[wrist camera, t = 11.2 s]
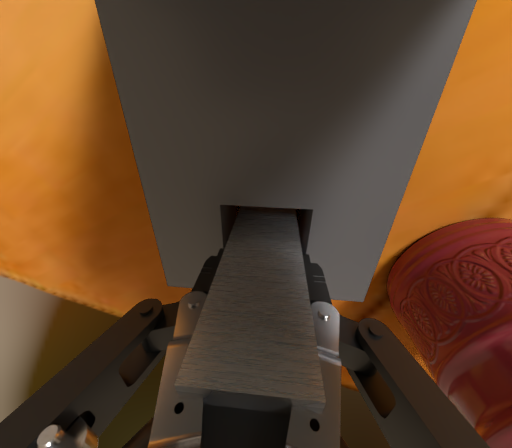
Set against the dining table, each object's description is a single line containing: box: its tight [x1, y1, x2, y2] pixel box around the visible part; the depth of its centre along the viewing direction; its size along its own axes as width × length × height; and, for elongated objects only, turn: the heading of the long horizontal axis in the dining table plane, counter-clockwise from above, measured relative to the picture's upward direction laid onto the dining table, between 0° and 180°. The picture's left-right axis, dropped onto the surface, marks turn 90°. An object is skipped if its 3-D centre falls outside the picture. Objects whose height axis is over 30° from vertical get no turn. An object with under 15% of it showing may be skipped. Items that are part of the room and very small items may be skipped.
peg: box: [174, 206, 326, 414], centre depth 12 cm, size 4×4×12 cm
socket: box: [95, 0, 477, 302], centre depth 14 cm, size 15×17×5 cm
